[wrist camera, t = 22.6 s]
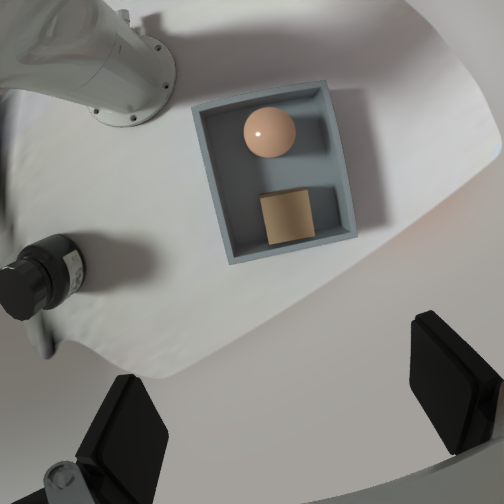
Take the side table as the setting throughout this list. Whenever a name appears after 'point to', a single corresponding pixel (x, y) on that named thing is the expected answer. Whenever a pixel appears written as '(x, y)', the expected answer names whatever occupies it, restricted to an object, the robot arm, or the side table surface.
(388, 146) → the side table surface
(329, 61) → the side table surface
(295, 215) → the walnut cube
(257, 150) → the peach domed capsule
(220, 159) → the tote
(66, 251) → the ink bottle
